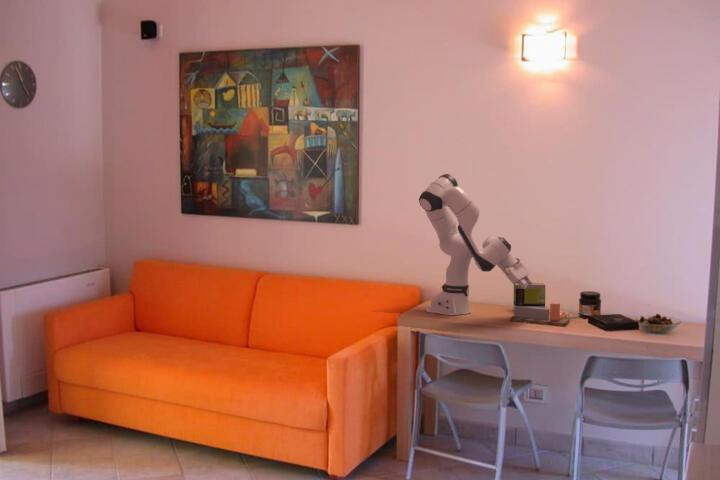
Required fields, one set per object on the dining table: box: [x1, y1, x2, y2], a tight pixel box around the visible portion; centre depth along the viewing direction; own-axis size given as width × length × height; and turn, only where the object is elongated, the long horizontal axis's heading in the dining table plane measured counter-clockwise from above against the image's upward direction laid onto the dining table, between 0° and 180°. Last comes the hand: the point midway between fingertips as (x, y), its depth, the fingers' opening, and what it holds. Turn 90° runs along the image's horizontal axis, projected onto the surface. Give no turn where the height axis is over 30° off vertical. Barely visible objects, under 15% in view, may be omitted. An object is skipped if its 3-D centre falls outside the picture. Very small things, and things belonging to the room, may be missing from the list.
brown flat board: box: [510, 314, 570, 327], centre depth 373 cm, size 26×10×2 cm, turn 65°
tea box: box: [512, 281, 546, 311], centre depth 395 cm, size 15×10×15 cm, turn 84°
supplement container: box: [578, 290, 602, 320], centre depth 382 cm, size 10×10×12 cm
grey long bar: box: [514, 306, 550, 320], centre depth 374 cm, size 16×2×5 cm, turn 65°
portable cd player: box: [587, 313, 640, 332], centre depth 364 cm, size 16×17×4 cm
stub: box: [549, 302, 561, 321], centre depth 369 cm, size 4×2×8 cm, turn 65°
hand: (528, 286), depth 371 cm, fingers open, 8 cm apart
